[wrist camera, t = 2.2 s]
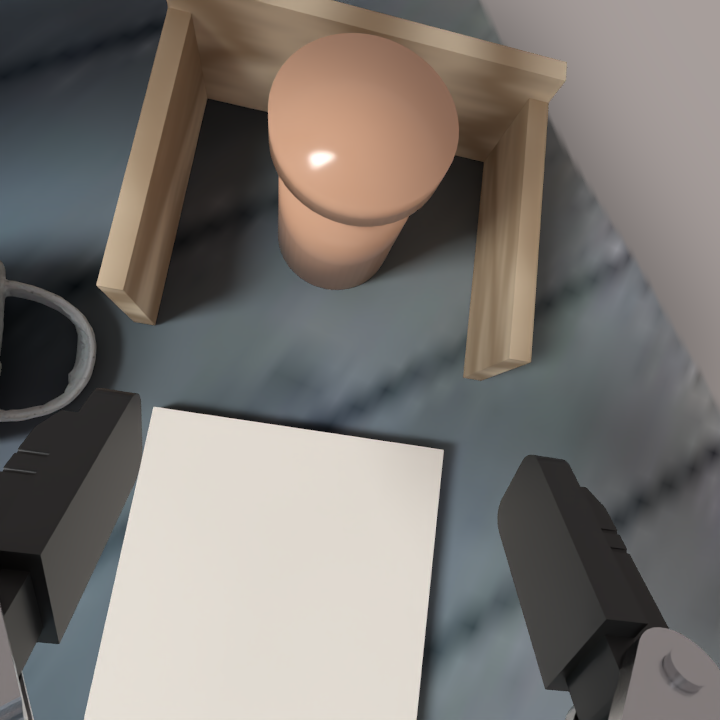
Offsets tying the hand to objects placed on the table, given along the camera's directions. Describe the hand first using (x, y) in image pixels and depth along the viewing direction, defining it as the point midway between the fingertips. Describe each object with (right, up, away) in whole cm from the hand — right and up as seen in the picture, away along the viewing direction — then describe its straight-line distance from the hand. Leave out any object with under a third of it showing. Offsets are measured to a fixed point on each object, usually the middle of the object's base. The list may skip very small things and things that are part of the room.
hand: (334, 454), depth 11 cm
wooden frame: (-1, +9, +17) cm, 19 cm away
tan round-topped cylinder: (-1, +9, +17) cm, 19 cm away
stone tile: (-3, -8, +13) cm, 16 cm away
